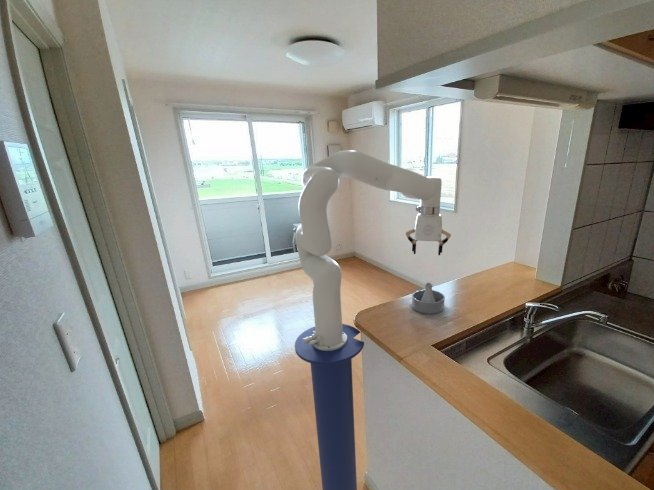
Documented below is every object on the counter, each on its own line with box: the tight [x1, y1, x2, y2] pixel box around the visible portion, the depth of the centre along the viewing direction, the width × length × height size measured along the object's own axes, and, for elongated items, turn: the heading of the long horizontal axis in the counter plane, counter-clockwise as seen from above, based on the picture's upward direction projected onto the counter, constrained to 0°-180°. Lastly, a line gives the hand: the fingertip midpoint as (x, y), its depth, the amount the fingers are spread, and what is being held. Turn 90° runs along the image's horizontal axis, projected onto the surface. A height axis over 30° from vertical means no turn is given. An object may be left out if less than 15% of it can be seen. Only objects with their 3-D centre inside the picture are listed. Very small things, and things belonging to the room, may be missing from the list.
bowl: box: [411, 289, 446, 315], centre depth 132 cm, size 13×13×5 cm
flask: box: [421, 282, 435, 303], centre depth 131 cm, size 7×7×10 cm
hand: (426, 253), depth 124 cm, fingers open, 9 cm apart
